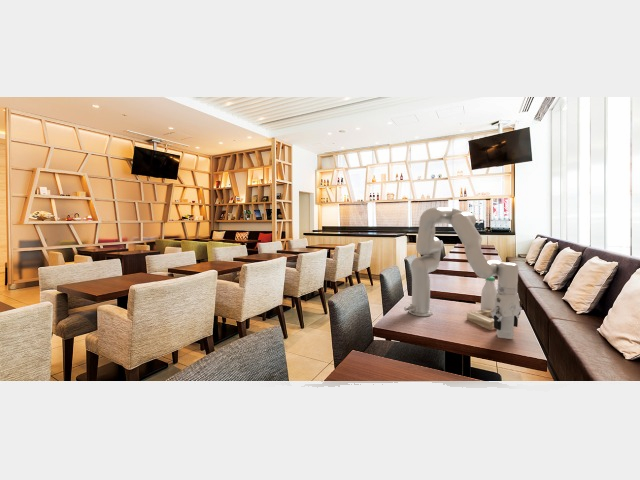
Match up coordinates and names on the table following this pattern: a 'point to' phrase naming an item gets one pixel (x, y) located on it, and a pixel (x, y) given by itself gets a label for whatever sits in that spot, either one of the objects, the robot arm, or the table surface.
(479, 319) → the socket block
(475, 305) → the table surface
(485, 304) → the milk bottle
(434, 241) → the robot arm
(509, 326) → the skincare box
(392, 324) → the table surface
